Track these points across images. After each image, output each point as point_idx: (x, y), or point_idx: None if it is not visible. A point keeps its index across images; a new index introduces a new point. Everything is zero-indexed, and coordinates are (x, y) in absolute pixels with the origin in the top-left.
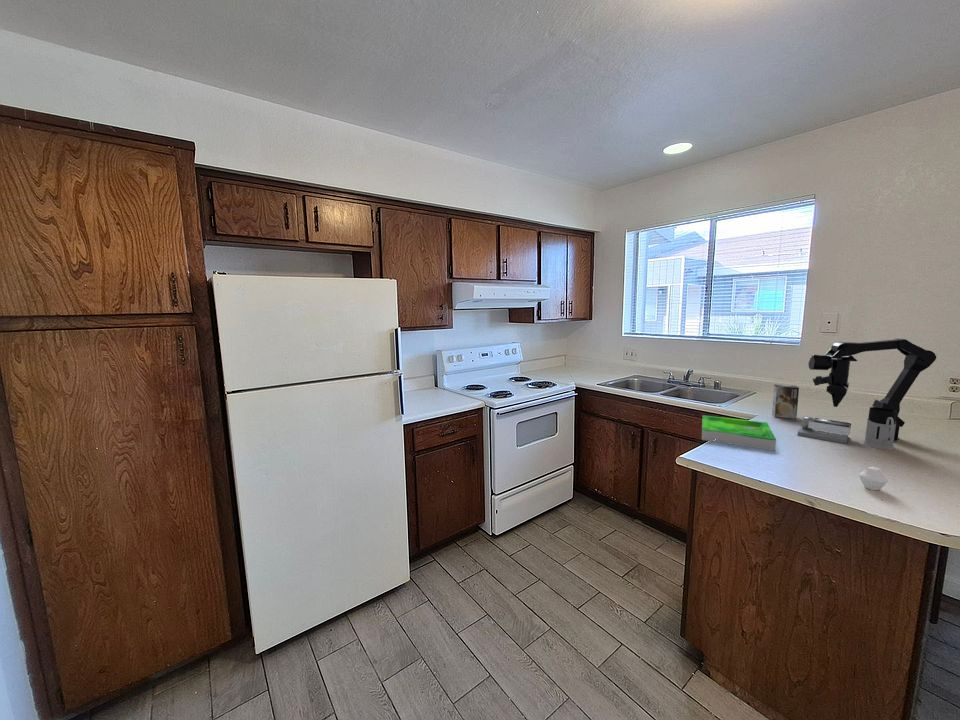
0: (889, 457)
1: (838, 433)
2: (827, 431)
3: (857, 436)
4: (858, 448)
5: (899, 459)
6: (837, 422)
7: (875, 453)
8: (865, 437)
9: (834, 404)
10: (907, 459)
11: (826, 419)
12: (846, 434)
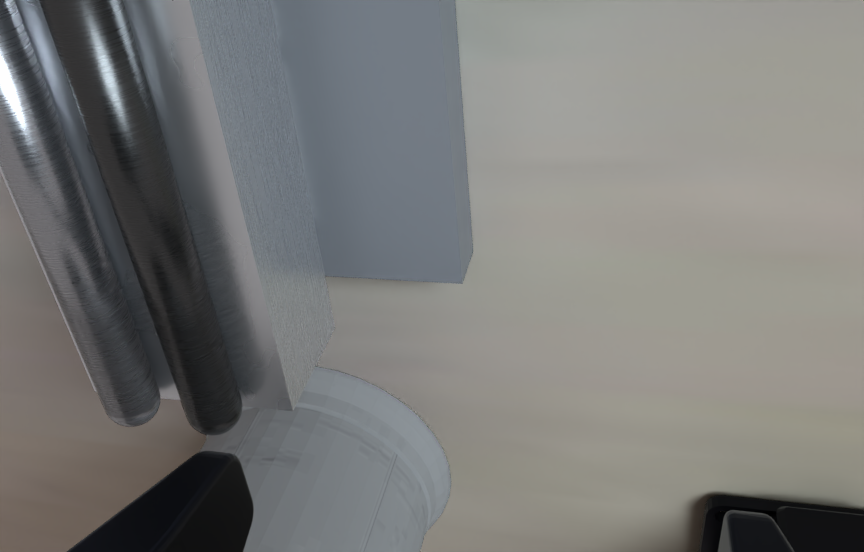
0: (2, 473)
1: (335, 177)
2: (321, 33)
3: (606, 342)
4: (25, 319)
5: (22, 513)
6: (55, 282)
7: (9, 412)
8: (248, 436)
9: (132, 528)
10: None
11: (102, 109)
12: (370, 263)
